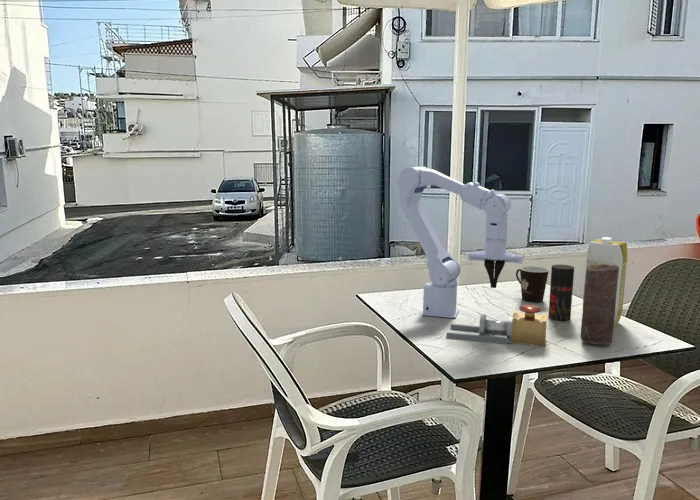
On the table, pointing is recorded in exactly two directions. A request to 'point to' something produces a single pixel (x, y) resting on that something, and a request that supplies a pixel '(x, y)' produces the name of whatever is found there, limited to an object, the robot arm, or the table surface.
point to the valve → (529, 326)
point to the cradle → (474, 336)
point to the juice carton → (610, 255)
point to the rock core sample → (599, 304)
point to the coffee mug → (533, 283)
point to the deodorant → (561, 292)
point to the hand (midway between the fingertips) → (493, 287)
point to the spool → (495, 327)
